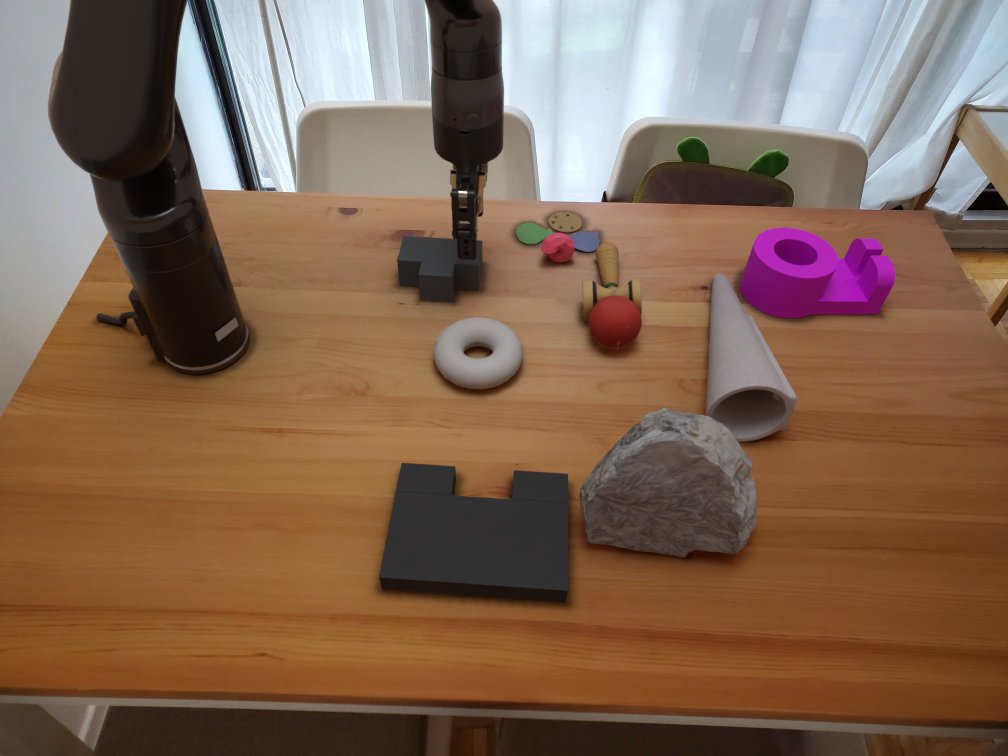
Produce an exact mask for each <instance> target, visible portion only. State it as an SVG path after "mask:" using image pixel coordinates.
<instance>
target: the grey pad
mask: <svg viewBox="0 0 1008 756" xmlns="http://www.w3.org/2000/svg"><path fill="white" fill-rule="evenodd" d="M396 264H397V272H398V273H397V274H398V284H399V286H405V287H419V298H420V301H429V302H430V301H432V302H446V303H453V302H454V299H455V293H456V292H455V291H456V290H469V291H479V290H480V285H481V277H482V271H483V240H482V239H481V240H480V239H477V257H476V259H474V260H466V259H460V258H458V252H457V239H453V238H448V237H432V236H414V235H412V236H411V235H403V236H402V240H401V243H400V247H399V251H398V255H397V258H396Z"/></svg>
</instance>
